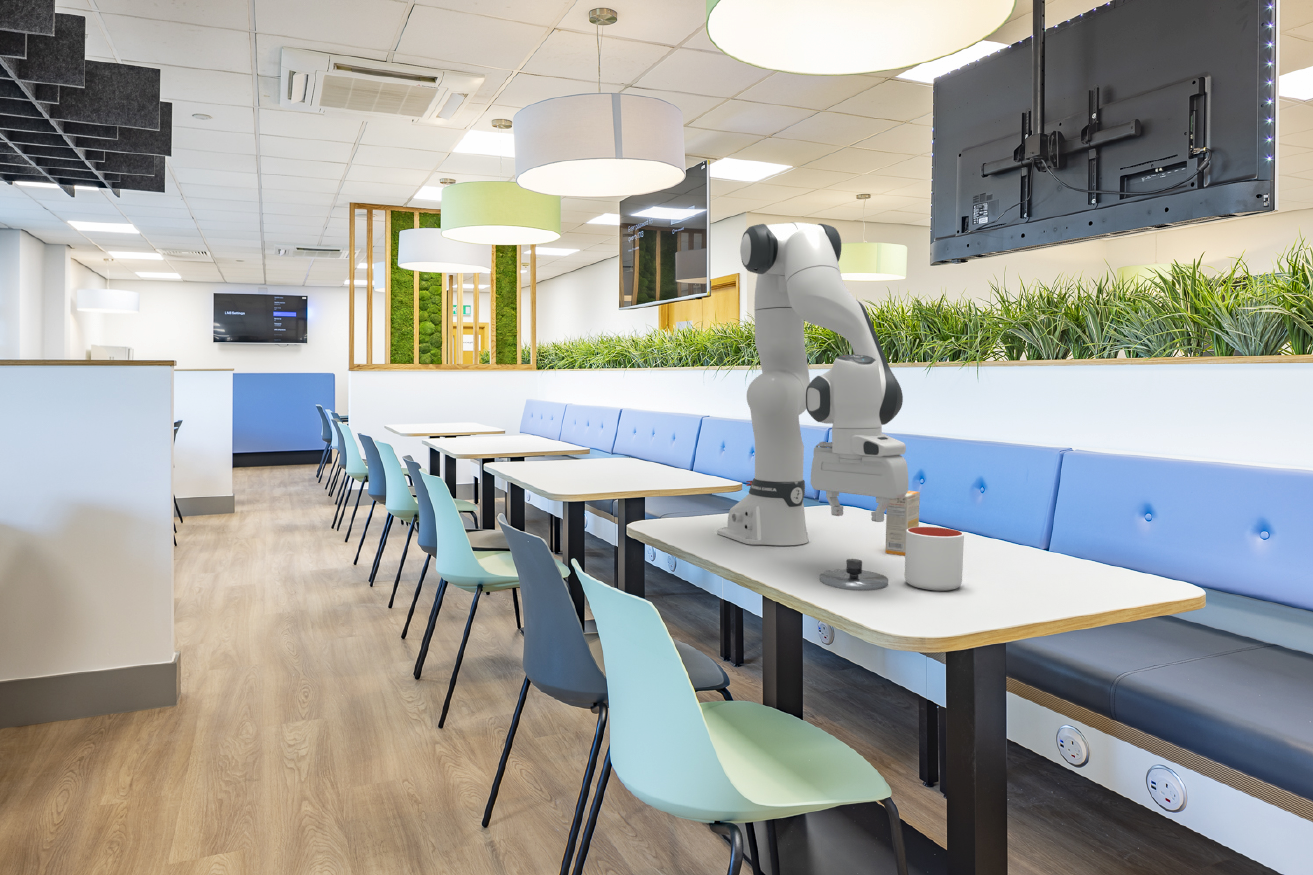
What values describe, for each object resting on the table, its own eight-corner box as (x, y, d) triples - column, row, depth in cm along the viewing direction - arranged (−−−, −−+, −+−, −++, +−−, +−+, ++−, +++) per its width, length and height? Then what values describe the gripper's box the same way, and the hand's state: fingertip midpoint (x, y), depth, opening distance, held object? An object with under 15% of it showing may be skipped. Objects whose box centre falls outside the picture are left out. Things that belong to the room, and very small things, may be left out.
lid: (805, 581, 156) (806, 559, 156) (847, 570, 164) (848, 549, 164) (860, 596, 147) (861, 572, 147) (902, 584, 155) (902, 562, 154)
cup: (965, 594, 148) (968, 538, 147) (906, 590, 150) (908, 535, 149) (957, 580, 157) (959, 528, 157) (902, 577, 159) (903, 525, 159)
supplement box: (897, 547, 188) (899, 489, 187) (918, 550, 185) (920, 491, 184) (883, 553, 181) (885, 493, 180) (905, 556, 178) (907, 495, 177)
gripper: (802, 442, 160) (803, 513, 161) (890, 447, 144) (891, 527, 144) (825, 440, 164) (825, 510, 165) (913, 444, 147) (913, 523, 148)
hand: (857, 518), depth 154 cm, fingers open, 8 cm apart
